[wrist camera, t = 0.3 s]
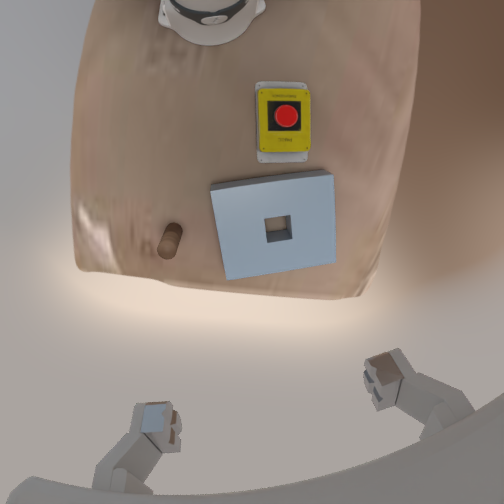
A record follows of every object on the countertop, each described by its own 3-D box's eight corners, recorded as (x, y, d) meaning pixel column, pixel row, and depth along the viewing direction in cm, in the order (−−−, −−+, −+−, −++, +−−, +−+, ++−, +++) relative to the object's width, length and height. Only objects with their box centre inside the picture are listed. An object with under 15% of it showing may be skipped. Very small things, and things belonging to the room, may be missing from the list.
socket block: (211, 184, 53) (210, 191, 49) (324, 169, 54) (333, 174, 50) (226, 267, 61) (226, 280, 56) (327, 251, 61) (335, 262, 57)
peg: (164, 224, 56) (155, 243, 47) (180, 221, 56) (173, 239, 48) (168, 239, 57) (159, 260, 49) (184, 237, 57) (178, 257, 49)
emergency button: (313, 80, 43) (313, 165, 50) (306, 82, 47) (306, 161, 54) (257, 78, 43) (259, 166, 49) (254, 81, 47) (256, 162, 53)
